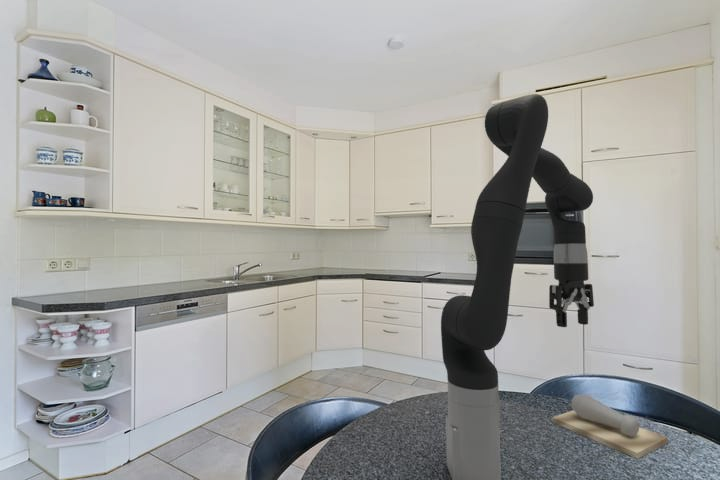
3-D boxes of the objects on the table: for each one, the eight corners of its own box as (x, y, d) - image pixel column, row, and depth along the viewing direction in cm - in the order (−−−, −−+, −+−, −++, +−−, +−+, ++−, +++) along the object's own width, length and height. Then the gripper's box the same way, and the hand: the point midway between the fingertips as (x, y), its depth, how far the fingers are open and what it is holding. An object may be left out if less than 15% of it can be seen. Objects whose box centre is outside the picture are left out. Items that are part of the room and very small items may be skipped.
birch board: (552, 422, 86) (552, 417, 86) (583, 411, 92) (583, 406, 92) (637, 459, 70) (637, 452, 70) (668, 443, 76) (667, 437, 76)
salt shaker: (576, 418, 87) (636, 447, 76) (566, 407, 85) (626, 435, 74) (585, 398, 89) (645, 423, 78) (576, 386, 87) (636, 410, 76)
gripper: (566, 262, 83) (569, 330, 82) (602, 261, 89) (605, 325, 88) (538, 261, 90) (540, 325, 89) (573, 261, 96) (575, 321, 95)
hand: (572, 325), depth 88 cm, fingers open, 8 cm apart
